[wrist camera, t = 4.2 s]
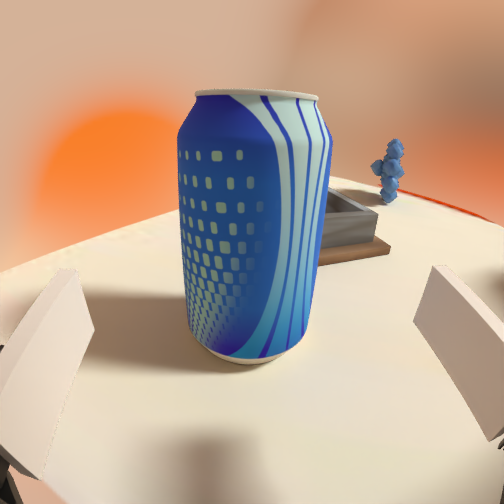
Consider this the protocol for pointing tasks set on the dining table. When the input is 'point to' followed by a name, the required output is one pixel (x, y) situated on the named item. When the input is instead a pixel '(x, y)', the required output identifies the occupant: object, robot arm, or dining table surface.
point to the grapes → (390, 170)
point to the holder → (348, 231)
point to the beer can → (251, 218)
